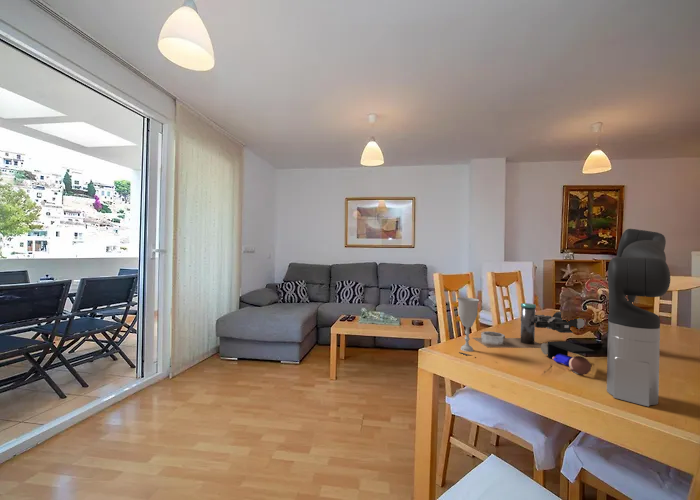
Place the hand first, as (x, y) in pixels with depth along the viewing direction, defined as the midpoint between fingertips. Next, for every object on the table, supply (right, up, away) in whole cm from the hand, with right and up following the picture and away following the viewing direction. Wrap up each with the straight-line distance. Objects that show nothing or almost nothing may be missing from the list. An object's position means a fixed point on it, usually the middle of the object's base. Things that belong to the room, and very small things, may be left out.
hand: (528, 321), depth 115 cm
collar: (-13, -7, -1) cm, 15 cm away
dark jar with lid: (0, -8, 0) cm, 8 cm away
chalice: (-26, -8, -10) cm, 29 cm away
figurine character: (-1, -9, -21) cm, 23 cm away
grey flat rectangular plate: (-7, -9, 0) cm, 11 cm away
